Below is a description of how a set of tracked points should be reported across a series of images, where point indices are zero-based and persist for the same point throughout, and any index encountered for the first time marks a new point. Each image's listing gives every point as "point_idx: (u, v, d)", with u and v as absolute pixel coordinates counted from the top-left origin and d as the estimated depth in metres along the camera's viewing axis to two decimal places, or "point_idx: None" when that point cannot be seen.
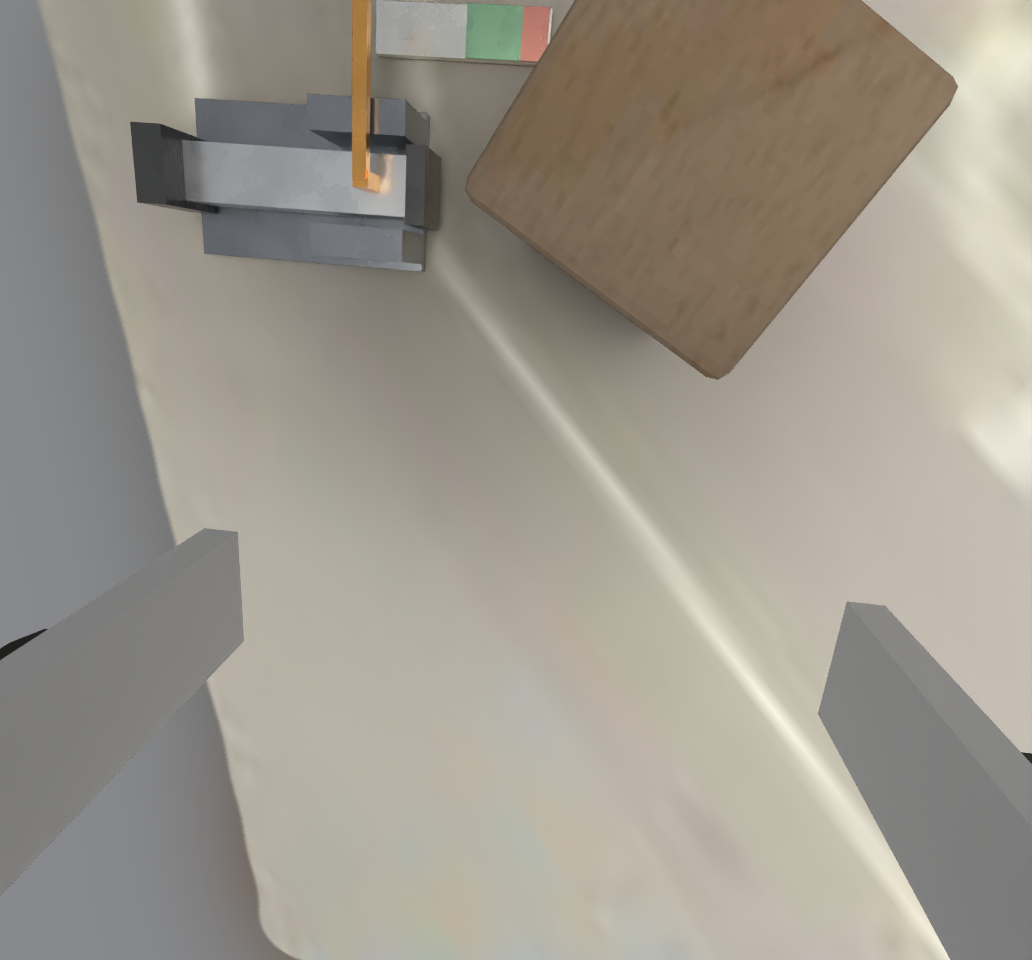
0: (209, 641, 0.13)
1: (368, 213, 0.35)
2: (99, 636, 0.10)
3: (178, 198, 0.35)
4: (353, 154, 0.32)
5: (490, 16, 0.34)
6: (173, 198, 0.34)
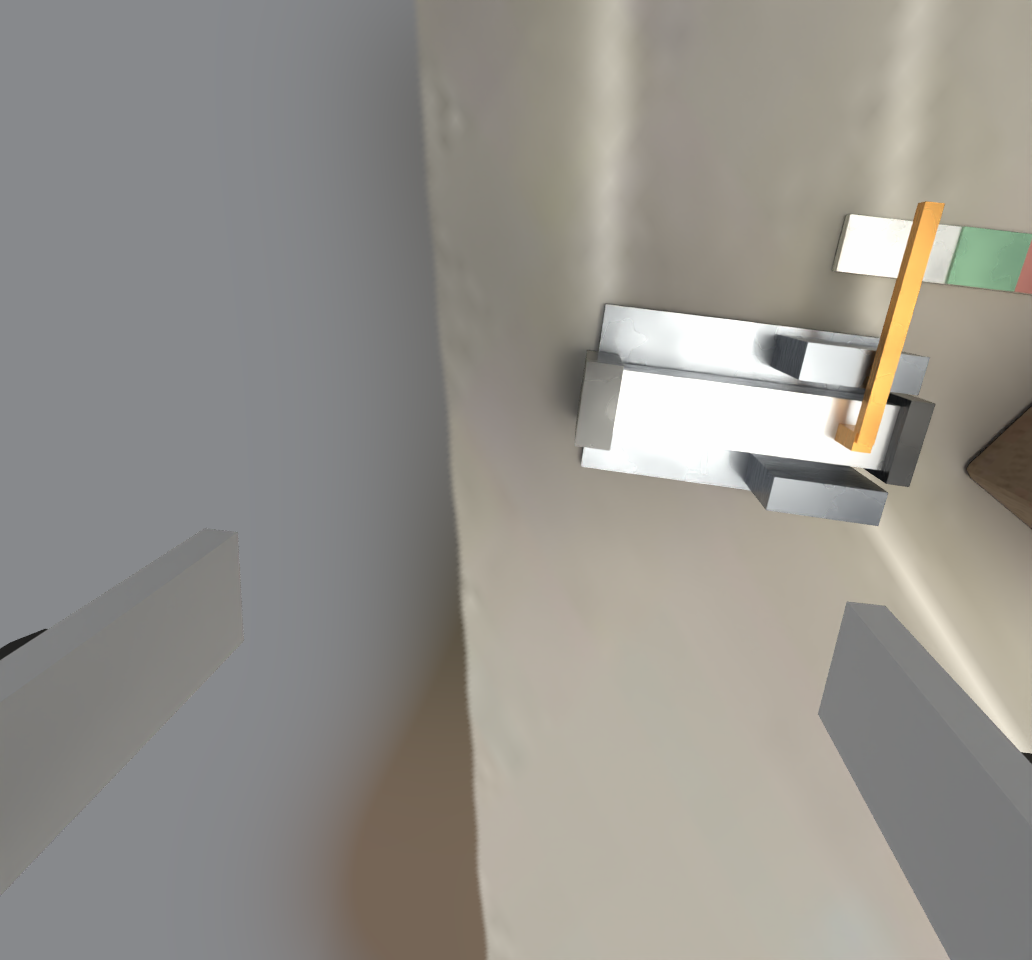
0: (209, 641, 0.13)
1: (831, 462, 0.30)
2: (99, 636, 0.10)
3: None
4: (865, 419, 0.27)
5: (989, 242, 0.29)
6: None
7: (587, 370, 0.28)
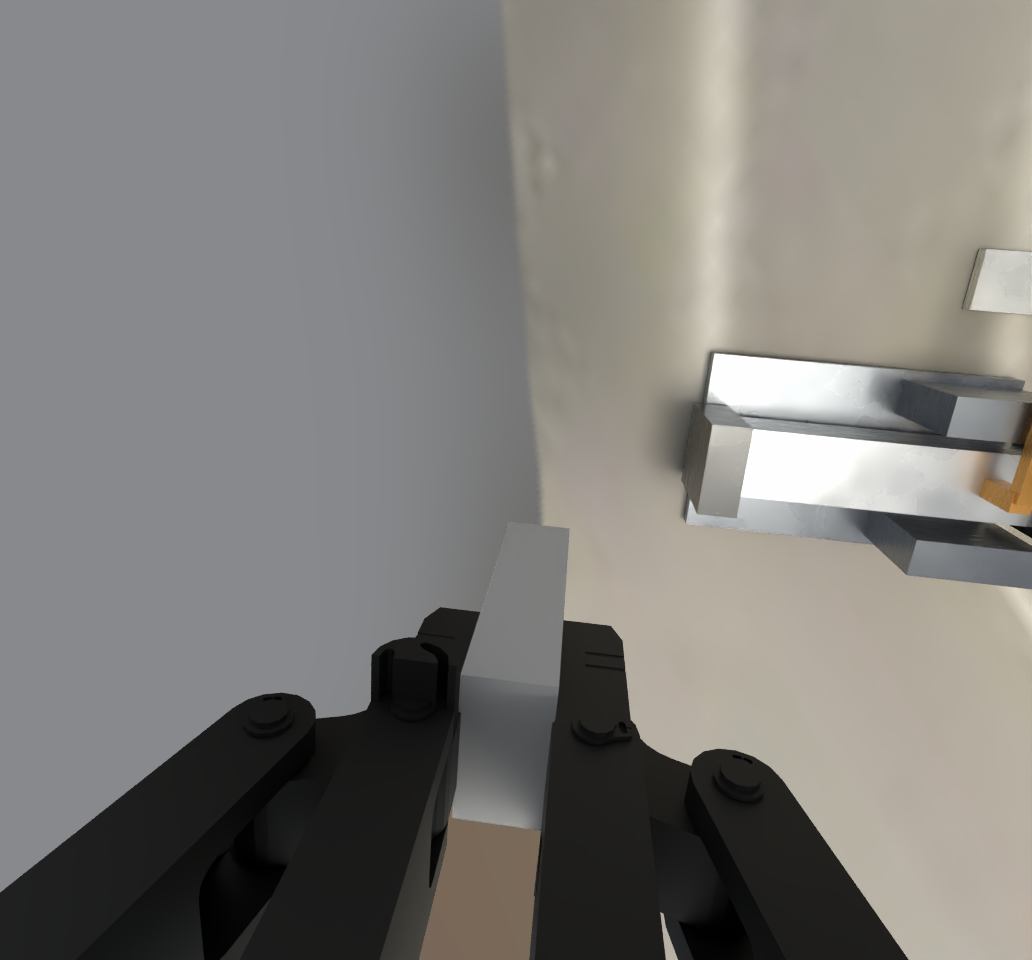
0: None
1: (975, 519, 0.27)
2: None
3: None
4: (1026, 479, 0.25)
5: None
6: None
7: (712, 434, 0.26)
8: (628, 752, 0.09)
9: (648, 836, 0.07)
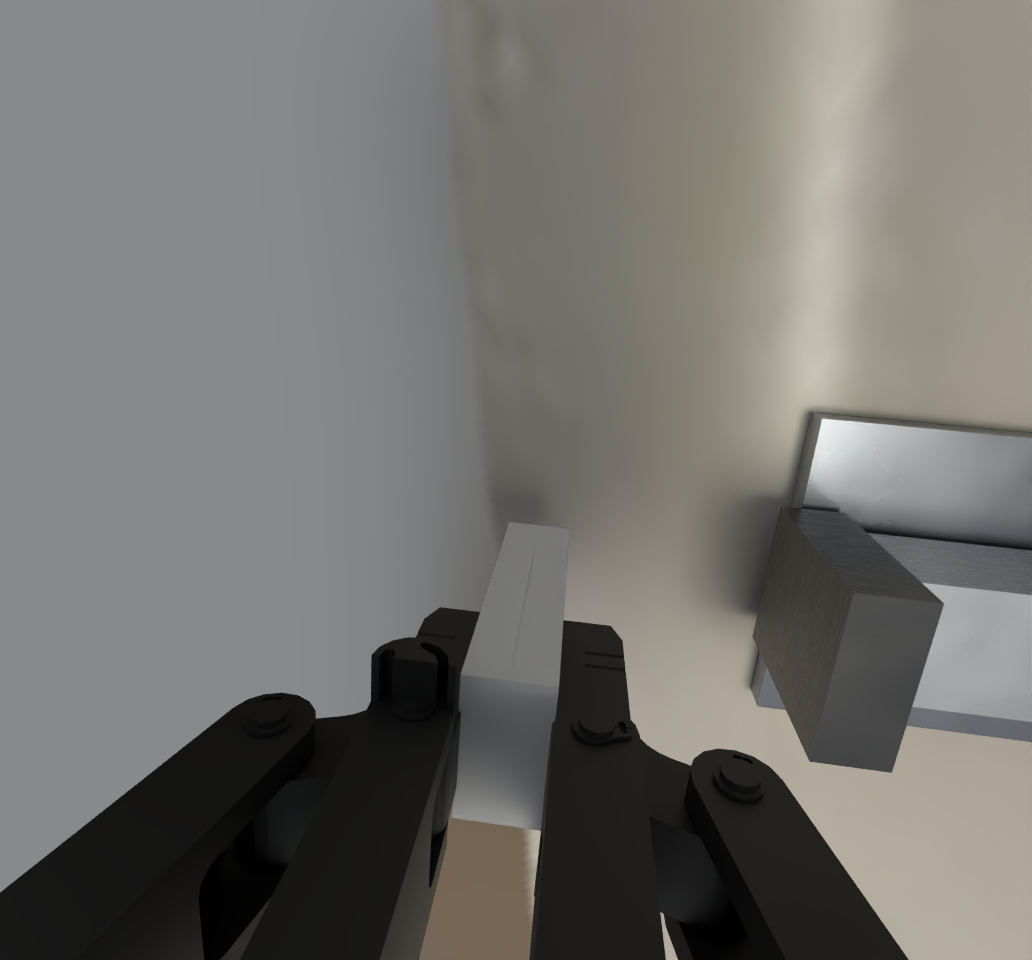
0: None
1: None
2: None
3: None
4: None
5: None
6: None
7: (853, 613, 0.12)
8: (628, 752, 0.09)
9: (648, 836, 0.07)
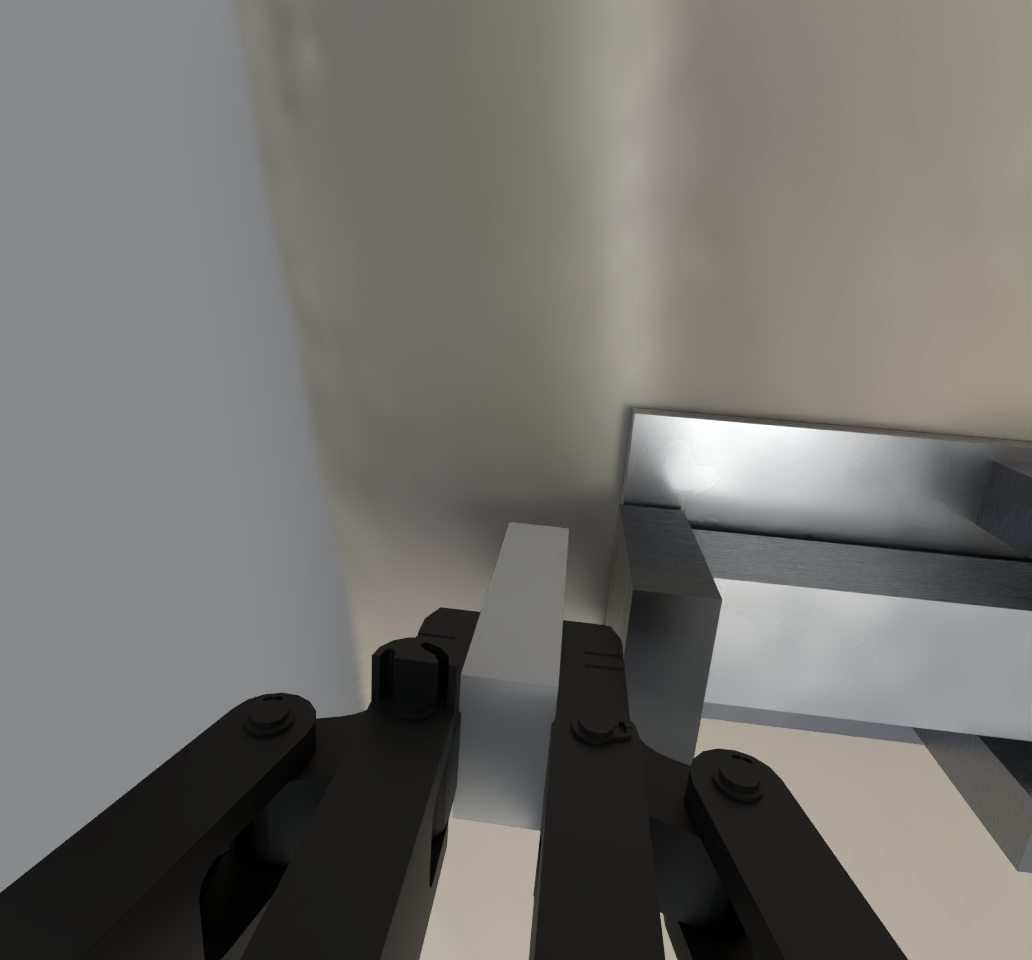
0: None
1: None
2: None
3: None
4: None
5: None
6: None
7: (634, 610, 0.12)
8: (628, 752, 0.09)
9: (648, 836, 0.07)
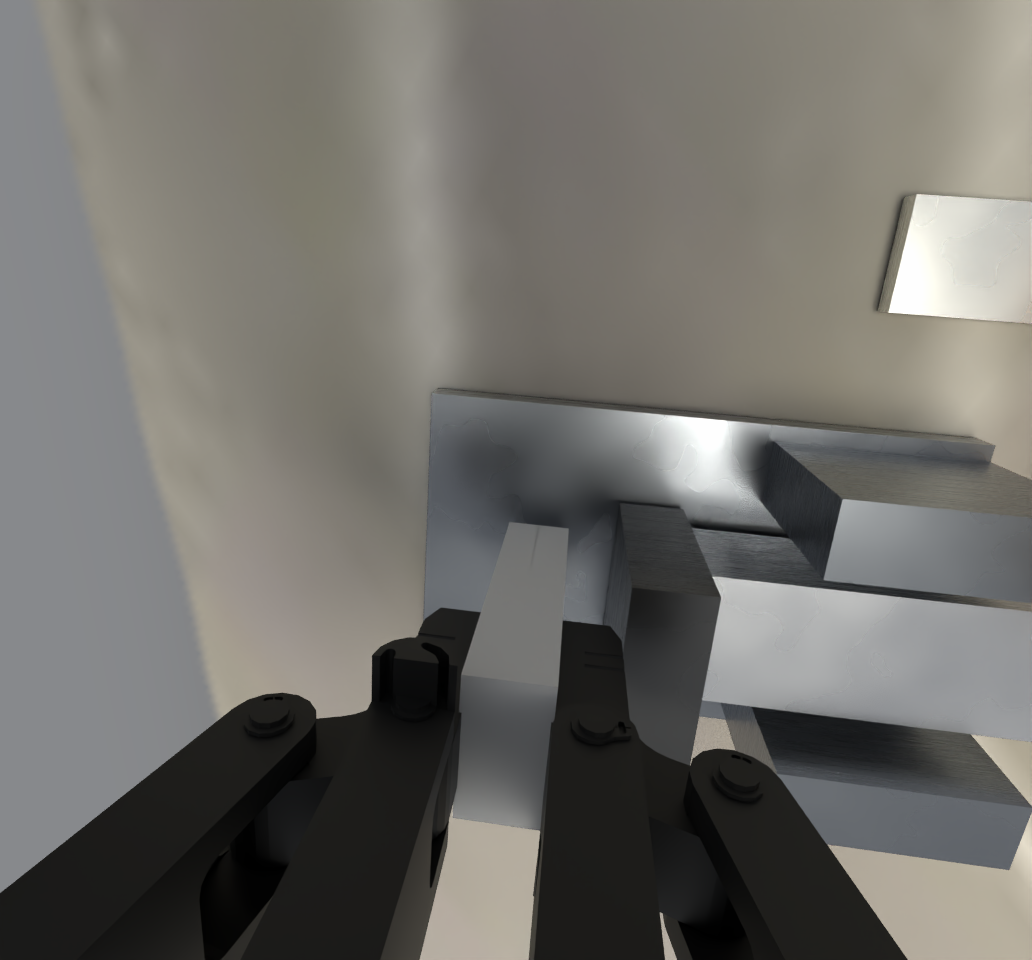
0: None
1: None
2: None
3: None
4: None
5: None
6: None
7: (633, 607, 0.12)
8: (627, 752, 0.09)
9: (647, 836, 0.07)
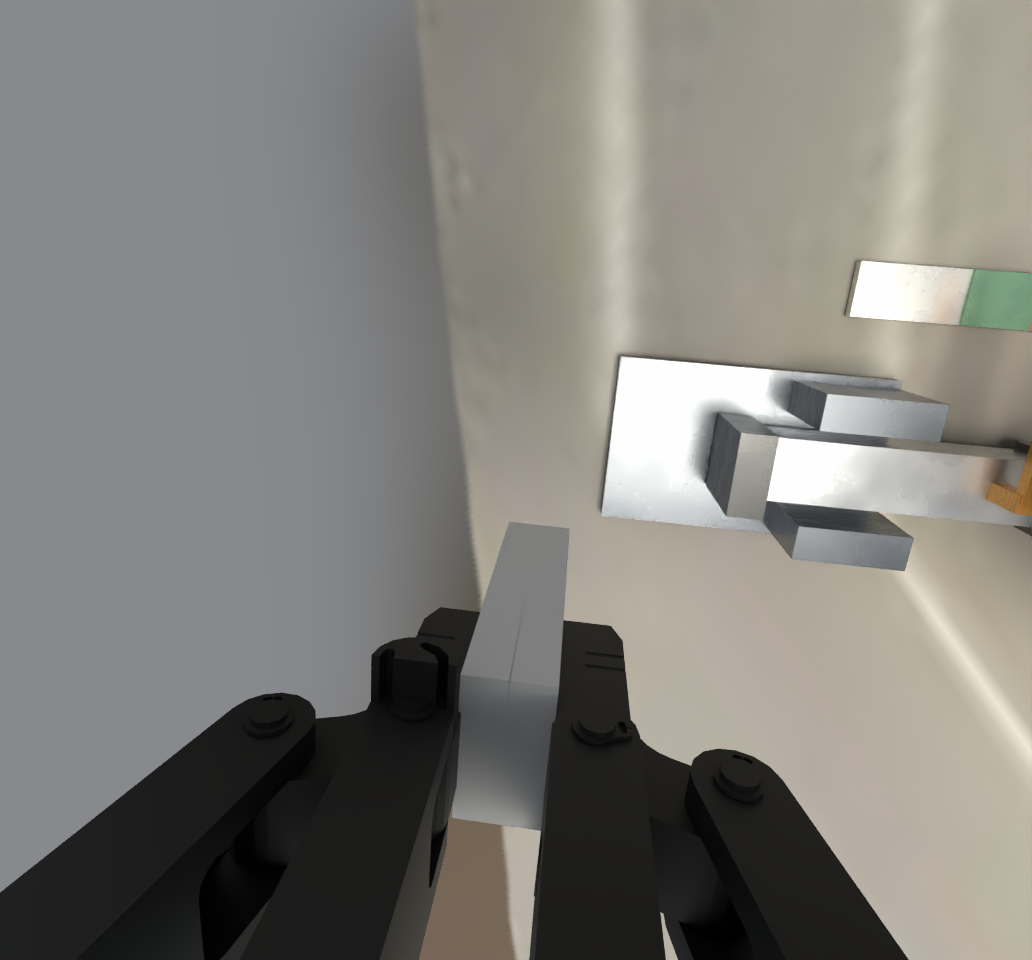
0: None
1: (982, 521, 0.30)
2: None
3: None
4: (1031, 482, 0.27)
5: (1001, 284, 0.30)
6: None
7: (741, 442, 0.28)
8: (628, 752, 0.09)
9: (648, 836, 0.07)
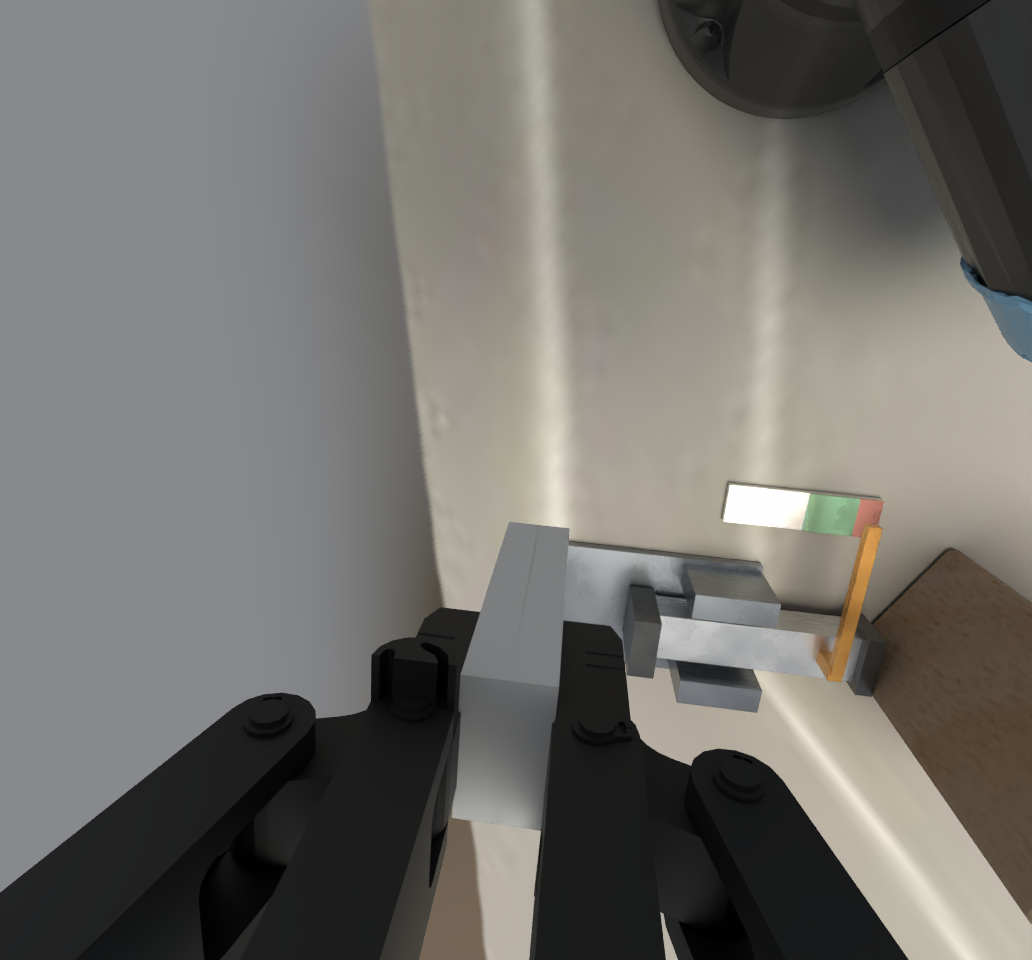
0: None
1: (815, 676, 0.41)
2: None
3: None
4: (836, 661, 0.38)
5: (830, 504, 0.41)
6: None
7: (635, 627, 0.39)
8: (628, 752, 0.09)
9: (648, 836, 0.07)
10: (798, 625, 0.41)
